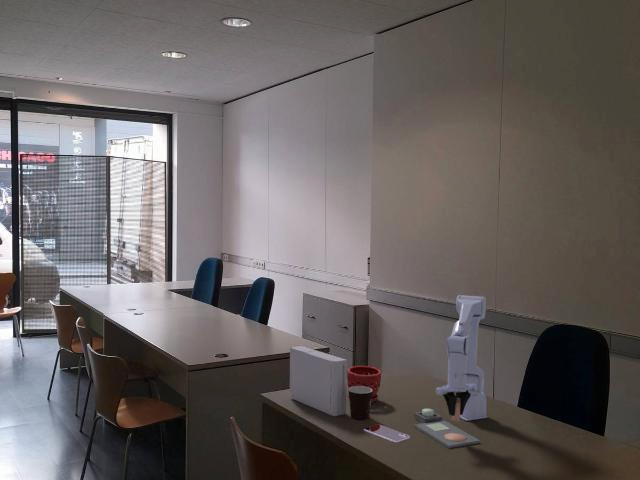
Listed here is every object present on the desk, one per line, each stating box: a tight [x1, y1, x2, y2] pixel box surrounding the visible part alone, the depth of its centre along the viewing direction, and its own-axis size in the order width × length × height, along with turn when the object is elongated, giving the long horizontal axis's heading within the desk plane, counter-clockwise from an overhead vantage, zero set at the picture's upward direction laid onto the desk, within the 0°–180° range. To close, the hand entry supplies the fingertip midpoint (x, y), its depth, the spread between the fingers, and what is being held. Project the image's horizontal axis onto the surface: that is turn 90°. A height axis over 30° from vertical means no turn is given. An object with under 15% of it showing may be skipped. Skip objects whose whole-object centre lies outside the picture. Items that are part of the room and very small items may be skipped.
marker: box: [451, 398, 461, 422], centre depth 199 cm, size 3×3×7 cm
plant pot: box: [346, 365, 382, 404], centre depth 238 cm, size 13×13×12 cm
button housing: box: [413, 411, 443, 424], centre depth 217 cm, size 7×7×2 cm
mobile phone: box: [363, 423, 411, 443], centre depth 204 cm, size 8×1×15 cm
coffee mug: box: [347, 386, 373, 421], centre depth 220 cm, size 12×9×10 cm
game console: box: [289, 345, 348, 417], centre depth 231 cm, size 6×27×20 cm, turn 39°
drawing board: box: [414, 419, 481, 449], centre depth 204 cm, size 12×20×1 cm, turn 23°
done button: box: [421, 408, 435, 418], centre depth 217 cm, size 4×4×2 cm
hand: (455, 414), depth 199 cm, fingers closed on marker, 3 cm apart
